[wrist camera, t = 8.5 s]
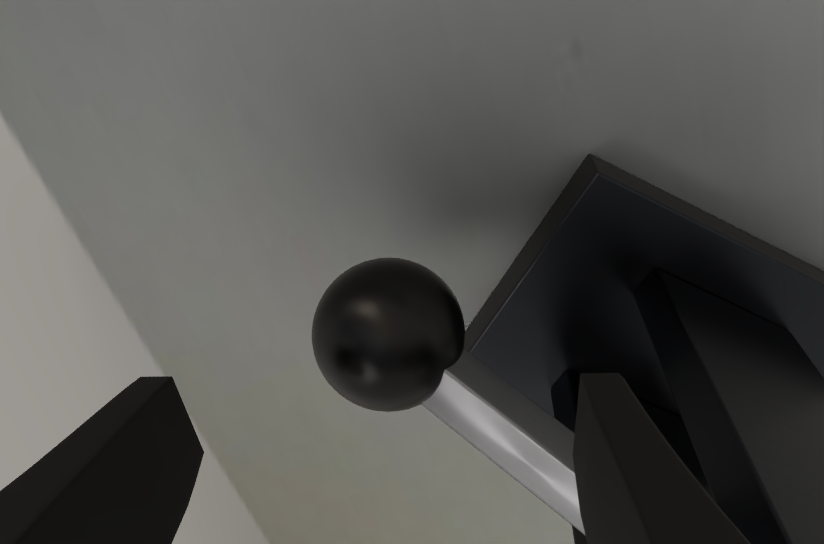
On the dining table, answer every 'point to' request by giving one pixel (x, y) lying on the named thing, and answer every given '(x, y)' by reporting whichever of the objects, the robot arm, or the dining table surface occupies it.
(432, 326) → the lever
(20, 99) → the dining table surface
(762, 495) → the bracket
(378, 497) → the dining table surface
